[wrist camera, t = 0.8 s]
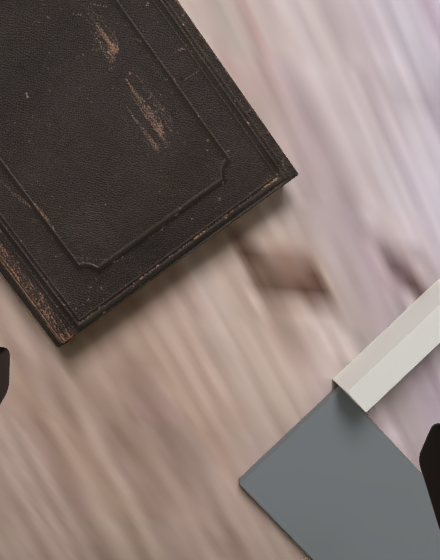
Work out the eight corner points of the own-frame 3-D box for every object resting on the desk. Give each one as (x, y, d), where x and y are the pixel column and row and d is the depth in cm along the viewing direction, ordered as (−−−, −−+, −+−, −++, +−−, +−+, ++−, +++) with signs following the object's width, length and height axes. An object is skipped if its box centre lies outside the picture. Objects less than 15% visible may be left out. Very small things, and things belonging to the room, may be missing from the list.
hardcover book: (52, -158, 23) (36, -204, 21) (289, 182, 24) (298, 174, 22) (-183, 9, 23) (-226, -20, 21) (67, 342, 24) (53, 350, 22)
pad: (374, 618, 25) (379, 627, 24) (238, 478, 24) (239, 484, 24) (471, 527, 25) (478, 533, 24) (338, 385, 24) (341, 388, 24)
